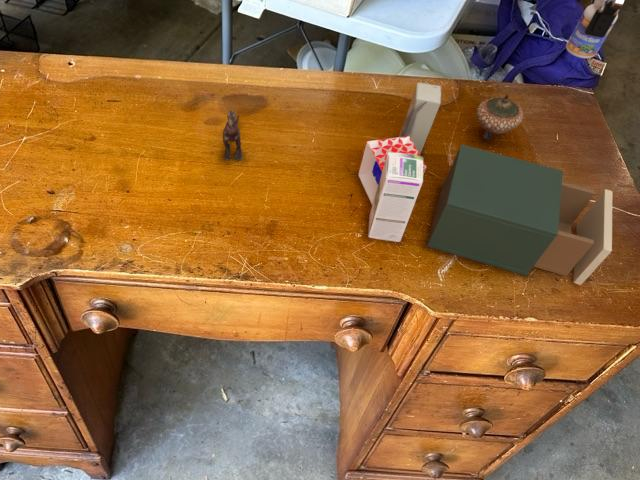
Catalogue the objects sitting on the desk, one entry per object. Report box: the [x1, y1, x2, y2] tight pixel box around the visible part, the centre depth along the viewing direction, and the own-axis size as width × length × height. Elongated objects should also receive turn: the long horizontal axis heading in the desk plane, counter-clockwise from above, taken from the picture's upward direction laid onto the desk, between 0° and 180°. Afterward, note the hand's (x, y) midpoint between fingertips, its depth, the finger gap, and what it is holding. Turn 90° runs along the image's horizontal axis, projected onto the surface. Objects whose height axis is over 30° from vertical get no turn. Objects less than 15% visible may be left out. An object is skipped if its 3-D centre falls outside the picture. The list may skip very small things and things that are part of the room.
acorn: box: [476, 94, 524, 139], centre depth 109 cm, size 8×8×10 cm
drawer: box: [533, 181, 613, 286], centre depth 93 cm, size 17×13×9 cm
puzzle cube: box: [357, 136, 427, 205], centre depth 101 cm, size 8×8×8 cm
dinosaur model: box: [222, 110, 243, 161], centre depth 105 cm, size 4×12×15 cm
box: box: [398, 82, 442, 155], centre depth 105 cm, size 5×4×13 cm
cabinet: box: [426, 144, 564, 277], centre depth 95 cm, size 17×15×11 cm
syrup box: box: [367, 152, 424, 243], centre depth 93 cm, size 6×6×14 cm
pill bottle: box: [565, 0, 619, 59], centre depth 100 cm, size 5×5×10 cm
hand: (595, 24), depth 99 cm, fingers closed on pill bottle, 5 cm apart
